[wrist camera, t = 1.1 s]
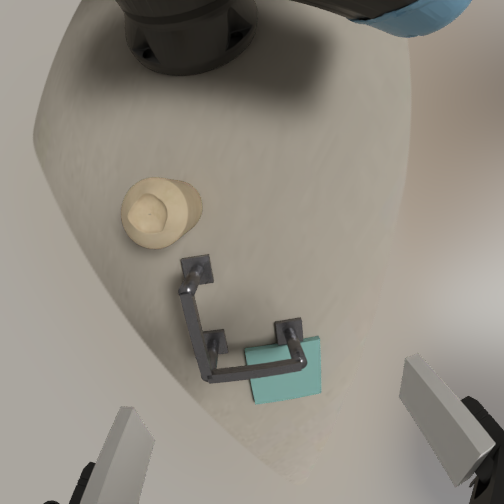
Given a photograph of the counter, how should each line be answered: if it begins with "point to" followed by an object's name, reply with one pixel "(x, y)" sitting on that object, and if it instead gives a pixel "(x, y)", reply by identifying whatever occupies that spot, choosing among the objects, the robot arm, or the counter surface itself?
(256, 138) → the counter surface
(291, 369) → the handrail
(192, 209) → the candle
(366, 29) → the counter surface
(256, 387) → the pad
